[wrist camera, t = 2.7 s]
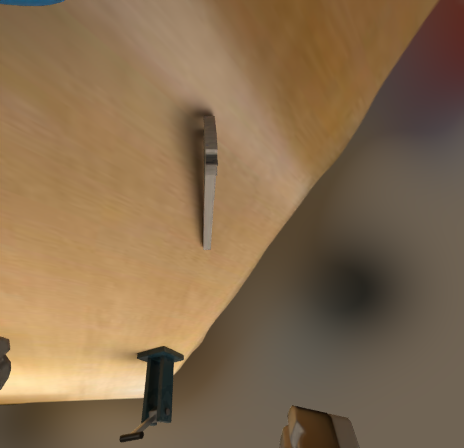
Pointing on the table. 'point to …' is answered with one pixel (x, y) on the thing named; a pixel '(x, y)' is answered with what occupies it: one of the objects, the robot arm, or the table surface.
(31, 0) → the alarm clock
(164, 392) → the bracket
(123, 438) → the lever
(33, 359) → the table surface
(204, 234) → the caliper
